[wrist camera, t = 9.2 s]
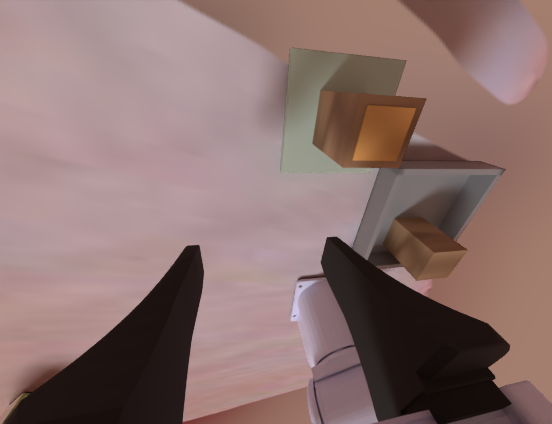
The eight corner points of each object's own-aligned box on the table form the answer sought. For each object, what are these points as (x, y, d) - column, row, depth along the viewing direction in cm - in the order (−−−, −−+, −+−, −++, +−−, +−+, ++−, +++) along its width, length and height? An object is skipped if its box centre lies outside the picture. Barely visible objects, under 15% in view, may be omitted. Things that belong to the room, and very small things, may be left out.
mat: (366, 170, 21) (370, 172, 20) (280, 170, 19) (281, 172, 19) (401, 61, 16) (406, 60, 15) (289, 48, 14) (291, 47, 14)
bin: (426, 250, 29) (441, 263, 27) (349, 256, 27) (358, 270, 25) (480, 161, 22) (505, 169, 20) (382, 160, 20) (399, 169, 18)
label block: (354, 144, 18) (399, 168, 13) (312, 143, 18) (343, 168, 13) (367, 93, 16) (428, 98, 11) (320, 90, 16) (361, 93, 10)
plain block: (408, 241, 27) (447, 277, 22) (382, 243, 27) (416, 280, 22) (421, 217, 25) (467, 250, 20) (393, 218, 25) (434, 252, 20)
